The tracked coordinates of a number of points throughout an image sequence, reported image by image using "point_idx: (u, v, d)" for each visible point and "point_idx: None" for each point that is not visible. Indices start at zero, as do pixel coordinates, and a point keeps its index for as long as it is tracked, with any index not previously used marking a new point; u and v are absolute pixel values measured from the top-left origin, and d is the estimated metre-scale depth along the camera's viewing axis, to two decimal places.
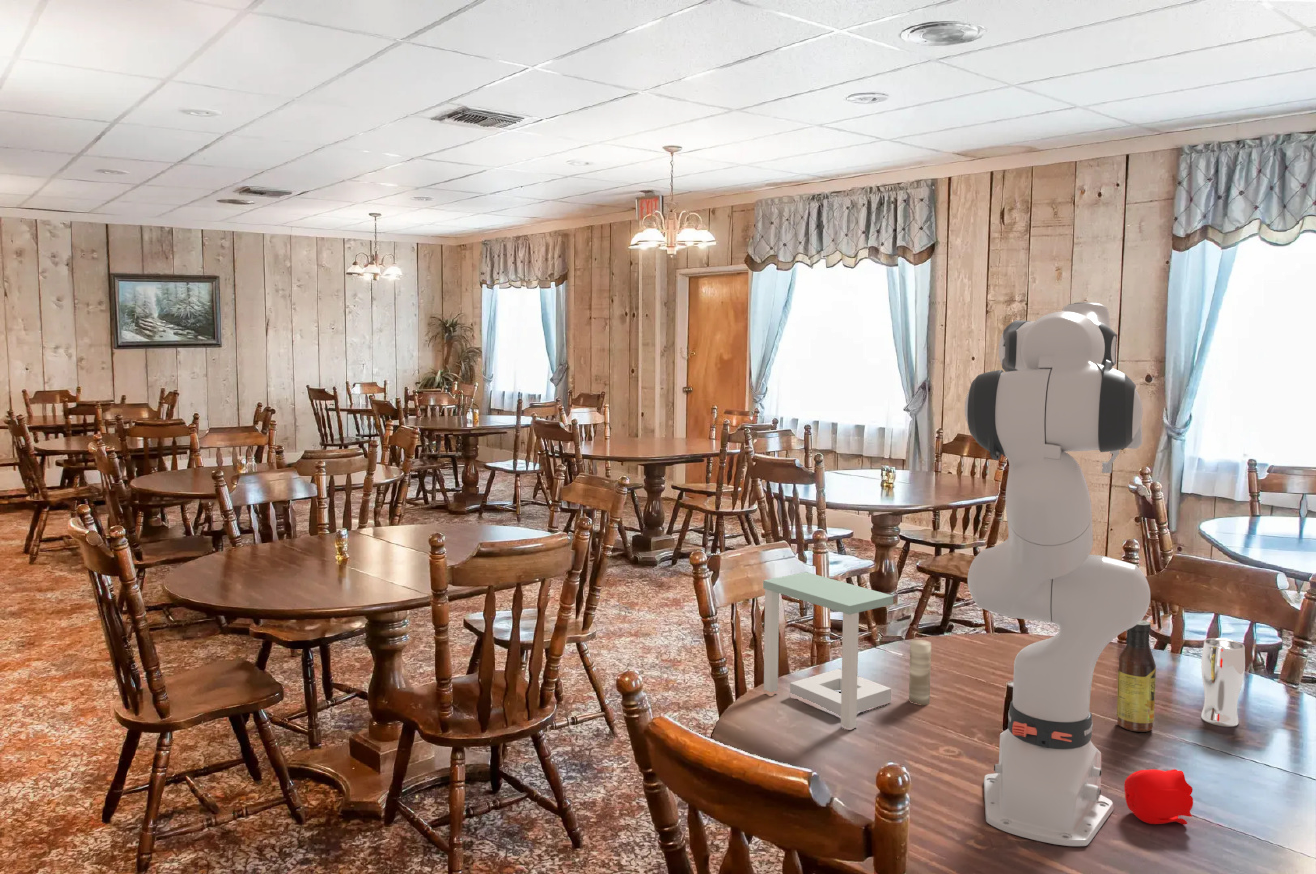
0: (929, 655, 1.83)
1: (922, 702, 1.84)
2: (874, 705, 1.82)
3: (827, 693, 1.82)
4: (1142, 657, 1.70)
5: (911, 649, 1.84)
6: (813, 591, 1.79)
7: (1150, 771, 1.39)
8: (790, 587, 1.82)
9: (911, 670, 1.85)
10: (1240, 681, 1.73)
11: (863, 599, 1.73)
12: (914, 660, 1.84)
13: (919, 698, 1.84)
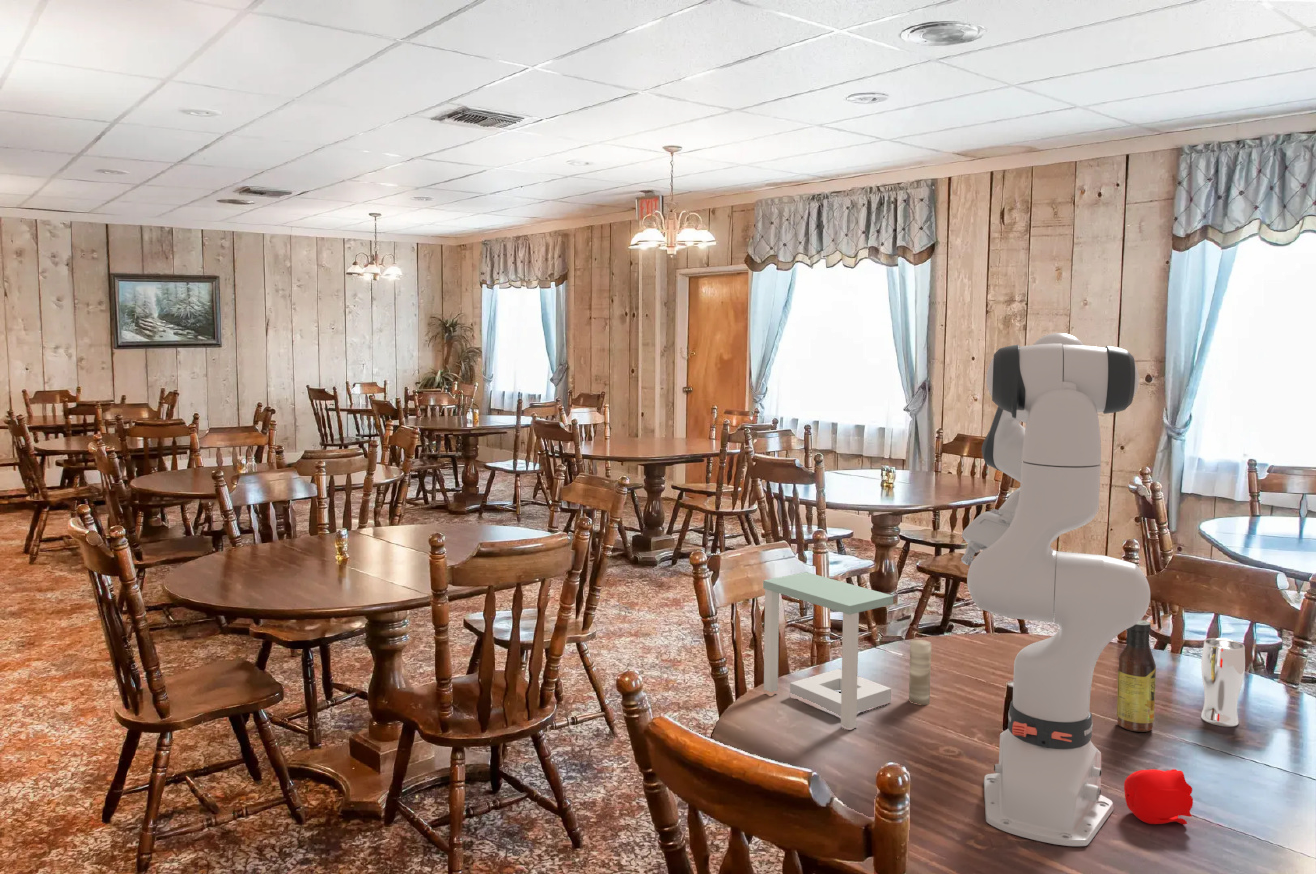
0: (929, 655, 1.83)
1: (922, 702, 1.84)
2: (874, 705, 1.82)
3: (827, 693, 1.82)
4: (1142, 657, 1.70)
5: (911, 649, 1.84)
6: (813, 591, 1.79)
7: (1150, 771, 1.39)
8: (790, 587, 1.82)
9: (911, 670, 1.85)
10: (1240, 681, 1.73)
11: (863, 599, 1.73)
12: (914, 660, 1.84)
13: (919, 698, 1.84)
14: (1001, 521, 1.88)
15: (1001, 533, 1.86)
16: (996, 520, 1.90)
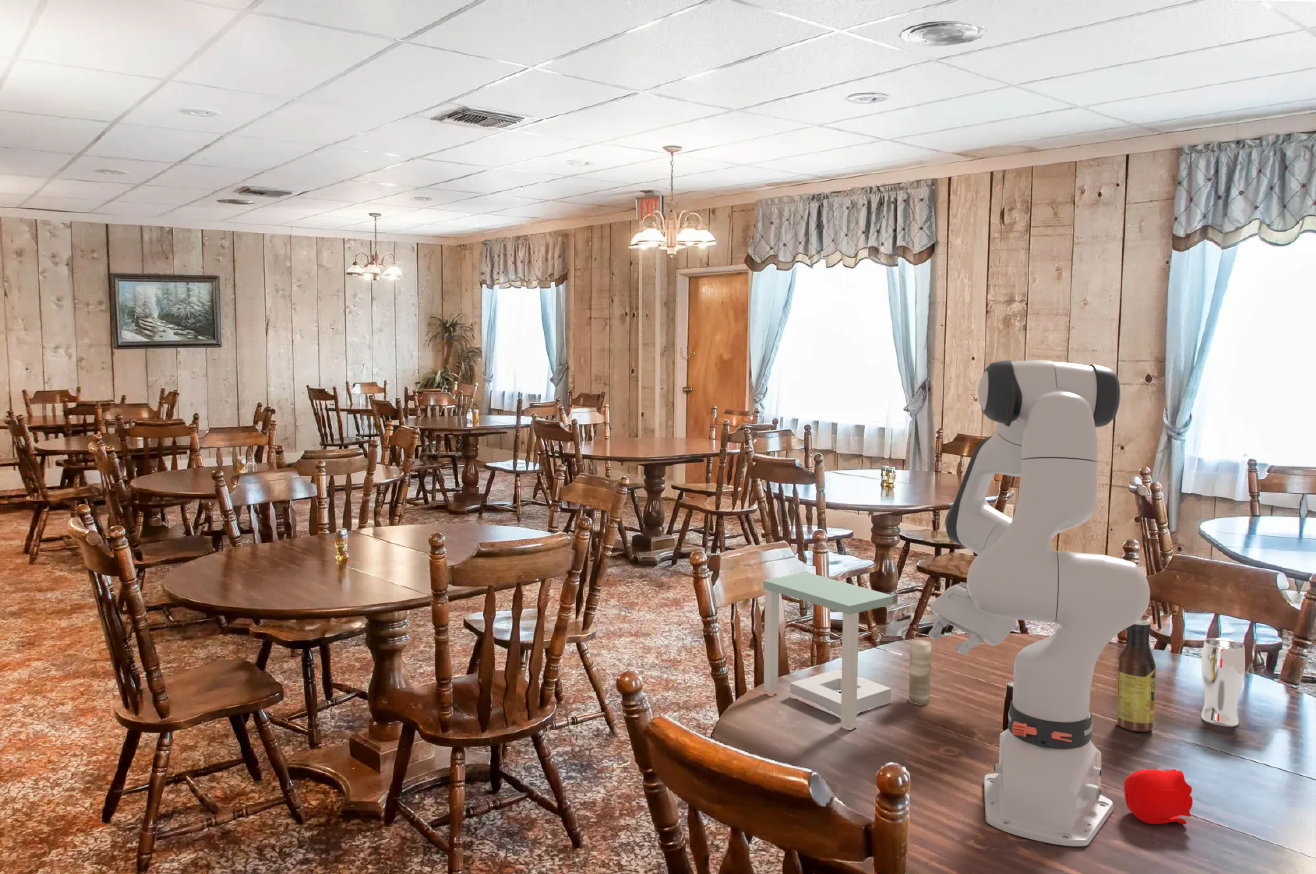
0: (929, 655, 1.83)
1: (922, 702, 1.84)
2: (874, 705, 1.82)
3: (827, 693, 1.82)
4: (1142, 657, 1.70)
5: (911, 649, 1.84)
6: (813, 591, 1.79)
7: (1149, 771, 1.39)
8: (790, 587, 1.82)
9: (911, 670, 1.85)
10: (1240, 681, 1.73)
11: (863, 599, 1.73)
12: (914, 660, 1.84)
13: (919, 698, 1.84)
14: (968, 597, 1.88)
15: (968, 609, 1.86)
16: (964, 595, 1.90)
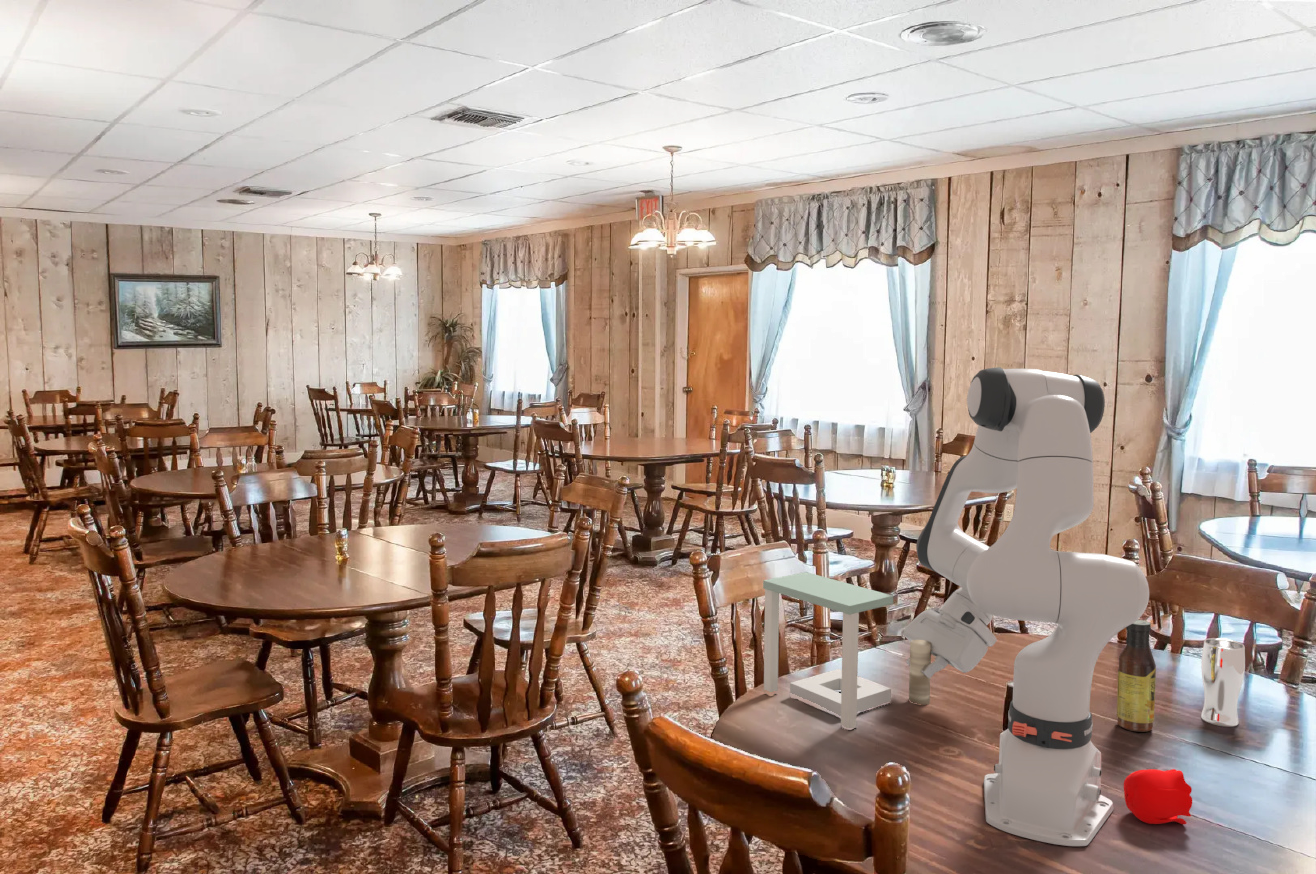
0: (929, 655, 1.83)
1: (922, 702, 1.84)
2: (874, 705, 1.82)
3: (827, 693, 1.82)
4: (1142, 657, 1.70)
5: (911, 649, 1.84)
6: (813, 591, 1.79)
7: (1149, 771, 1.39)
8: (790, 587, 1.82)
9: (911, 670, 1.85)
10: (1240, 681, 1.73)
11: (863, 599, 1.73)
12: (914, 660, 1.84)
13: (919, 698, 1.84)
14: (941, 622, 1.87)
15: (940, 635, 1.85)
16: (936, 620, 1.89)
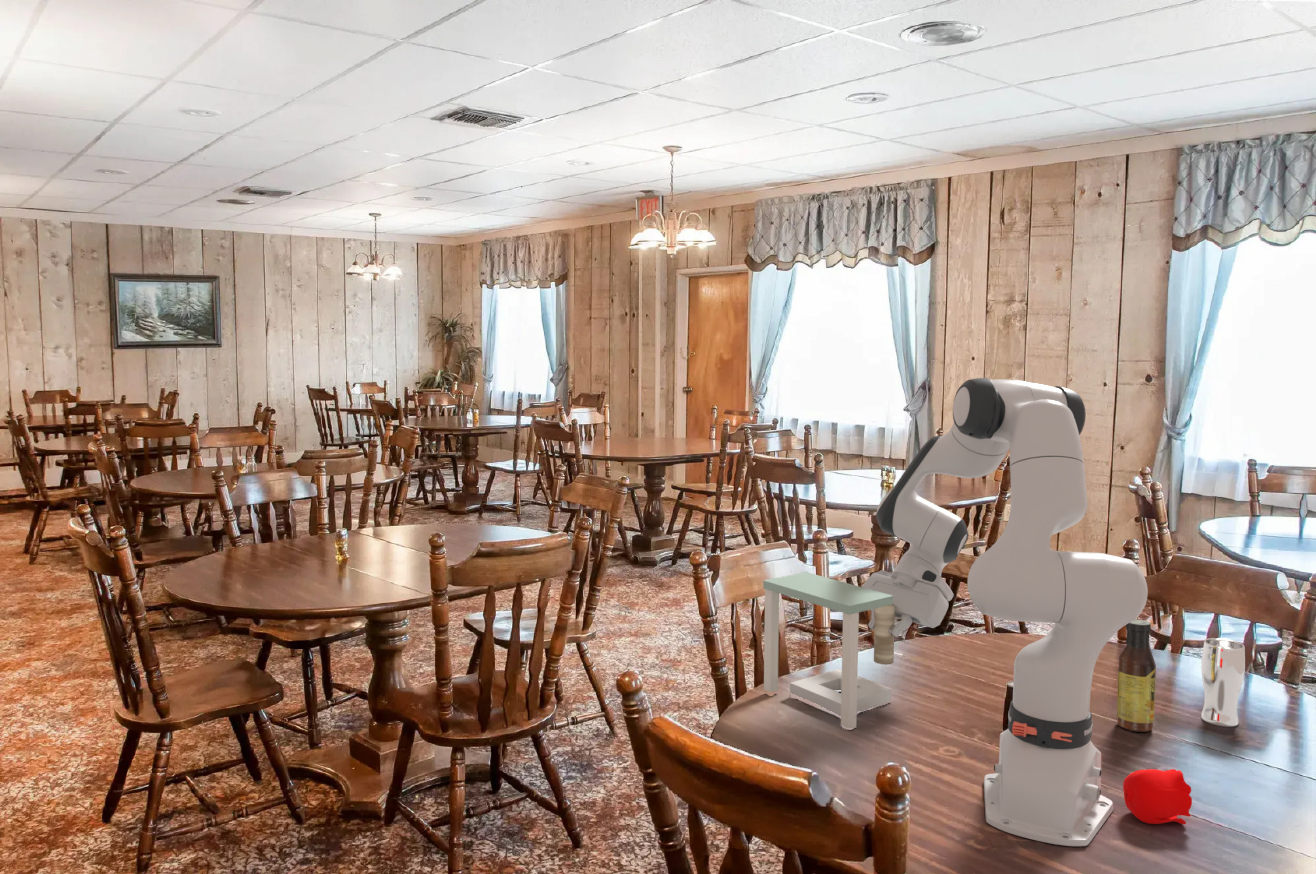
0: (894, 615, 1.92)
1: (889, 661, 1.92)
2: (874, 705, 1.82)
3: (827, 693, 1.82)
4: (1142, 657, 1.70)
5: (877, 611, 1.91)
6: (813, 591, 1.79)
7: (1149, 771, 1.39)
8: (790, 587, 1.82)
9: (878, 632, 1.92)
10: (1240, 681, 1.73)
11: (863, 599, 1.73)
12: (881, 622, 1.91)
13: (887, 657, 1.91)
14: (897, 583, 1.96)
15: (900, 596, 1.94)
16: (890, 582, 1.98)
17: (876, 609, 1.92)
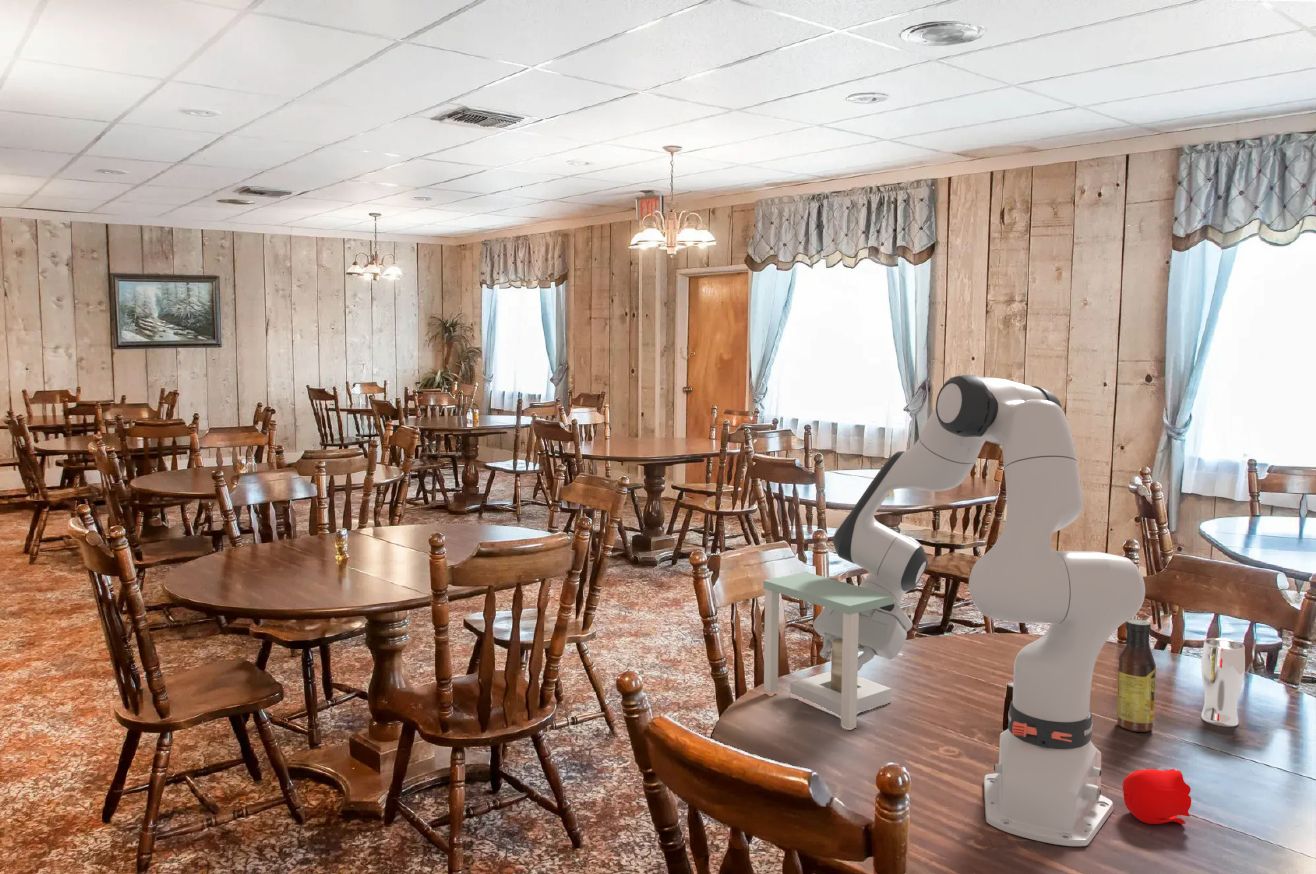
0: None
1: None
2: (874, 705, 1.82)
3: (827, 693, 1.82)
4: (1142, 657, 1.70)
5: (834, 649, 1.84)
6: (813, 591, 1.79)
7: (1148, 771, 1.39)
8: (790, 587, 1.82)
9: (834, 670, 1.84)
10: (1240, 681, 1.73)
11: (863, 599, 1.73)
12: (838, 660, 1.84)
13: None
14: None
15: None
16: None
17: (833, 647, 1.85)
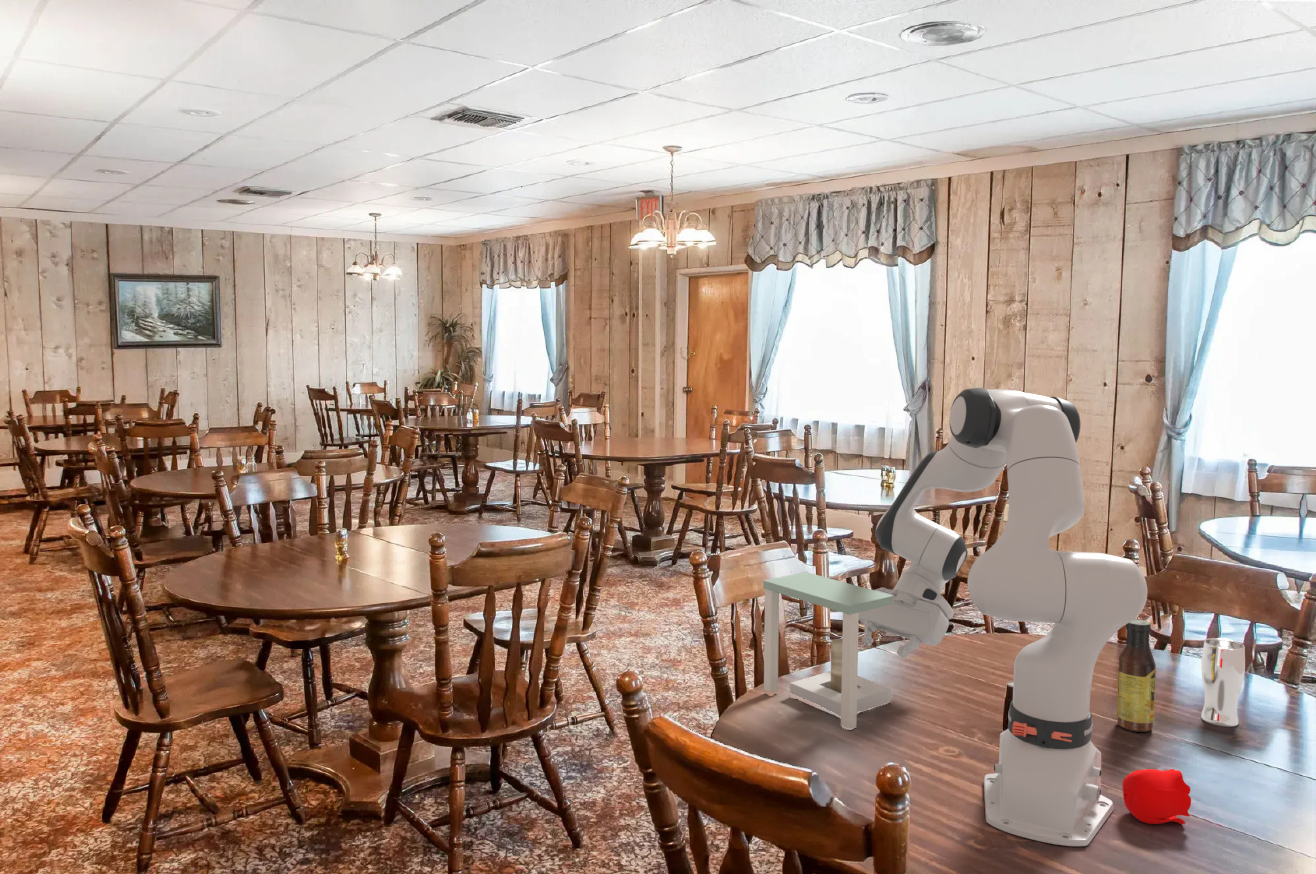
0: None
1: None
2: (874, 705, 1.82)
3: (827, 693, 1.82)
4: (1142, 657, 1.70)
5: (833, 649, 1.84)
6: (813, 591, 1.79)
7: (1148, 771, 1.39)
8: (790, 587, 1.82)
9: (834, 670, 1.84)
10: (1240, 681, 1.73)
11: (863, 599, 1.73)
12: (837, 660, 1.84)
13: None
14: (897, 601, 1.96)
15: (900, 613, 1.94)
16: None
17: (832, 647, 1.85)
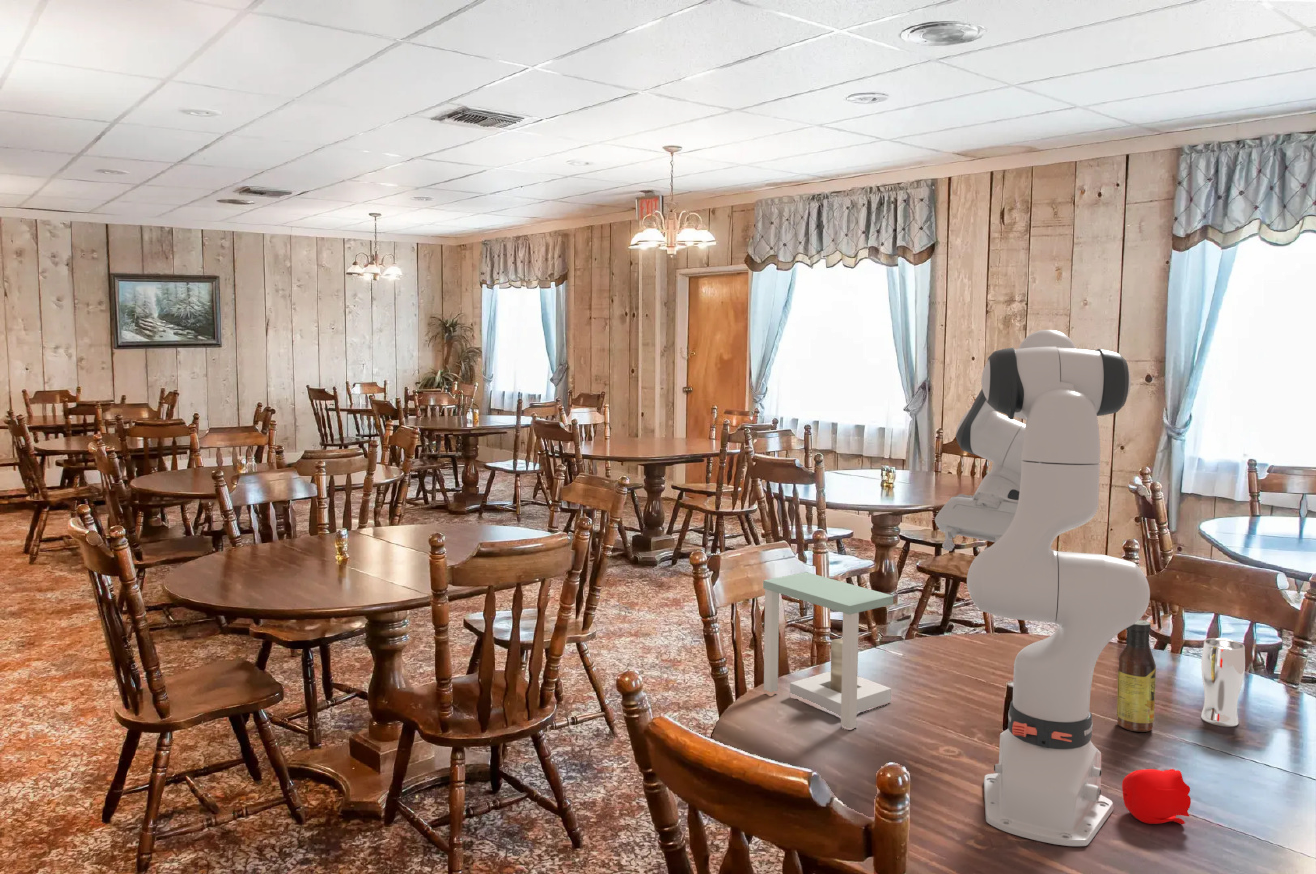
0: None
1: None
2: (874, 705, 1.82)
3: (827, 693, 1.82)
4: (1142, 657, 1.70)
5: (833, 649, 1.84)
6: (813, 591, 1.79)
7: (1148, 771, 1.39)
8: (790, 587, 1.82)
9: (834, 670, 1.84)
10: (1240, 681, 1.73)
11: (863, 599, 1.73)
12: (837, 660, 1.84)
13: None
14: (980, 504, 1.90)
15: (984, 516, 1.88)
16: (972, 504, 1.92)
17: (832, 647, 1.85)
